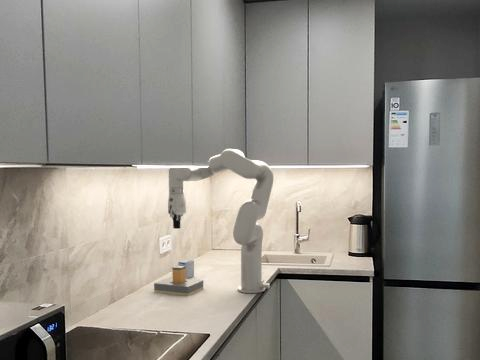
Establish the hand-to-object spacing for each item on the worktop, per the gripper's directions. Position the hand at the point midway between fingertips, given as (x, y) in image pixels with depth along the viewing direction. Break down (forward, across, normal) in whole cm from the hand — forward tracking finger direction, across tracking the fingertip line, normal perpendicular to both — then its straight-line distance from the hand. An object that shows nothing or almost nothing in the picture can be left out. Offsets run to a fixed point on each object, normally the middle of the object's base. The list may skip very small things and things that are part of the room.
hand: (176, 228), depth 240 cm
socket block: (+27, -13, -9) cm, 31 cm away
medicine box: (+27, +12, +2) cm, 30 cm away
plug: (+26, -13, -9) cm, 31 cm away
